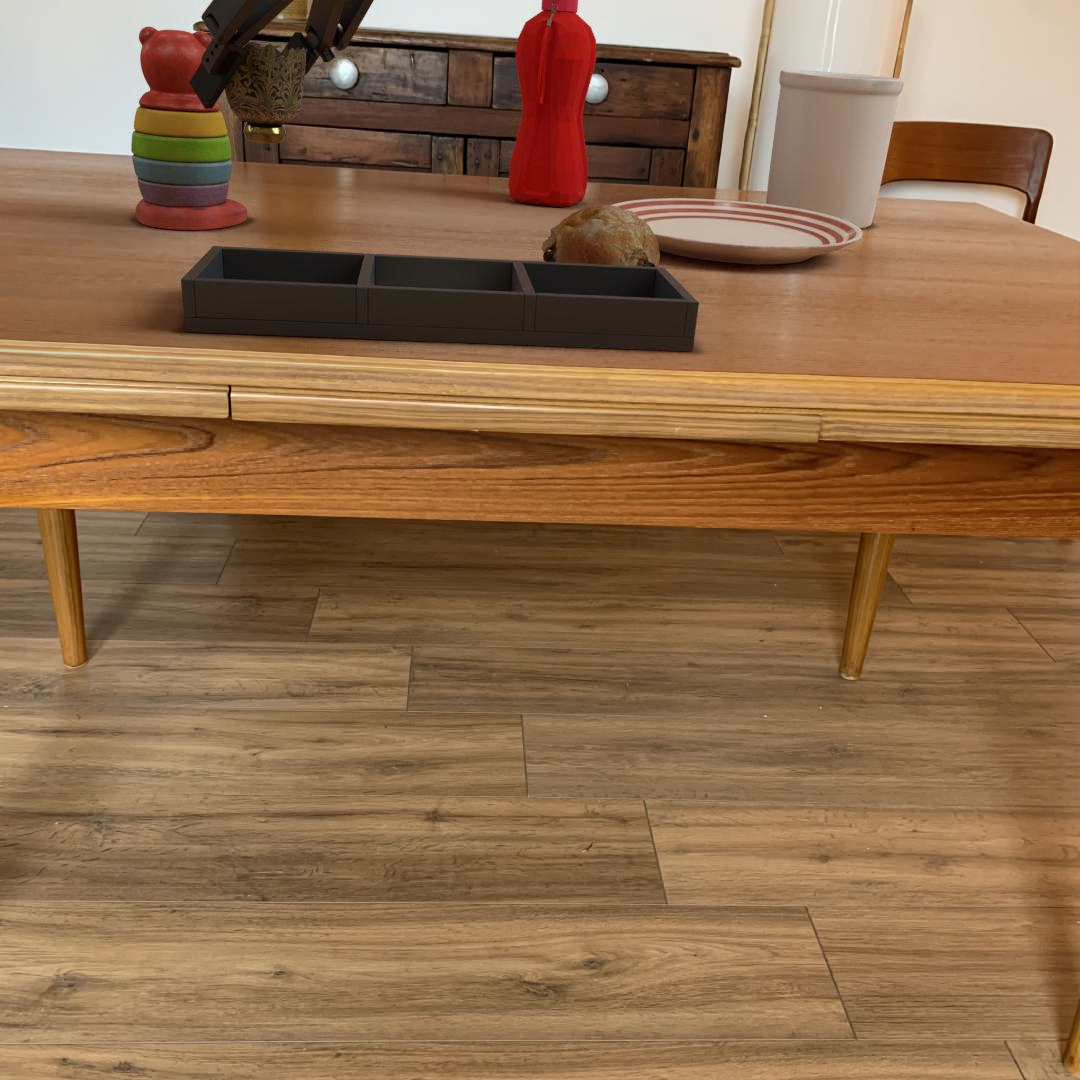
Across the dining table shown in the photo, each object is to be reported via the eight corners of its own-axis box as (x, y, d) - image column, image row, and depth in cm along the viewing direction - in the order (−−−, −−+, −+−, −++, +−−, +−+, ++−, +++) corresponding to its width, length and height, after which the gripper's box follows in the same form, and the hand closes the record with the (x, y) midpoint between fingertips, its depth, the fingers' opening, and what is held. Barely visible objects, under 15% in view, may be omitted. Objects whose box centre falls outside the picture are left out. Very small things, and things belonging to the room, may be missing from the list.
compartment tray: (184, 332, 73) (180, 279, 71) (215, 292, 84) (212, 245, 82) (692, 351, 77) (699, 302, 75) (659, 311, 88) (664, 267, 86)
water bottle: (495, 203, 136) (506, -22, 126) (524, 194, 146) (536, -16, 135) (566, 211, 134) (583, -17, 123) (591, 201, 143) (608, -11, 133)
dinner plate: (829, 287, 101) (835, 251, 100) (559, 248, 111) (561, 214, 109) (876, 247, 124) (882, 217, 122) (649, 218, 134) (652, 189, 132)
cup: (286, 138, 102) (284, 44, 98) (322, 147, 96) (321, 48, 93) (208, 136, 98) (204, 38, 94) (241, 146, 92) (238, 42, 89)
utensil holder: (876, 234, 133) (906, 79, 126) (754, 221, 136) (776, 69, 129) (876, 219, 146) (903, 77, 139) (764, 207, 149) (785, 68, 142)
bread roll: (602, 330, 95) (647, 251, 91) (514, 263, 97) (553, 183, 93) (648, 310, 103) (691, 237, 99) (565, 249, 105) (604, 175, 101)
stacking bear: (251, 217, 115) (242, 31, 108) (233, 233, 106) (222, 32, 99) (146, 211, 114) (130, 24, 107) (118, 227, 105) (99, 23, 98)
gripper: (302, -93, 75) (164, 133, 89) (481, -59, 90) (339, 128, 105) (245, -182, 75) (117, 57, 90) (433, -133, 91) (298, 64, 105)
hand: (237, 95), depth 97 cm, fingers closed on cup, 7 cm apart
